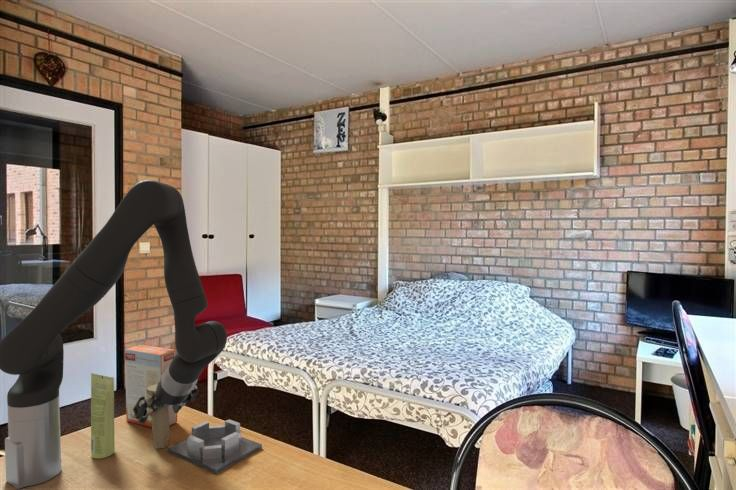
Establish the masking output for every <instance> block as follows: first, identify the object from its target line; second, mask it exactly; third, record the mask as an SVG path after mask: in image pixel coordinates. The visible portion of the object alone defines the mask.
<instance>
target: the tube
mask: <svg viewBox="0 0 736 490" xmlns="http://www.w3.org/2000/svg"><path fill="white" fill-rule="evenodd" d="M114 378H115V377H113V376H107V375H103V374H102V375H101V374H98V373H94V372H93V373H92V372H91V373H90V386H91V387H90V413H91V414H90V455H91V457H92V458H93V459H104V458H108V457H110V456H111V455H113V454H114V453H115V447H116V446H115V445H116V444H115V379H114Z"/></svg>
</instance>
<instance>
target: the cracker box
mask: <svg viewBox="0 0 736 490" xmlns="http://www.w3.org/2000/svg"><path fill="white" fill-rule="evenodd" d="M176 354H177V350H176V349H174V348H173V349H171V348H165V347H158V346H153V345H147V344H139V345H136V346H131V347H128V348H125V350H124V359H125V360H124V361H125V363H124V364H125V367H124V368H125V411H126V412H125V413H126V414H125V415H126V416H125V417H126V419H125V420H126V422H130V423H133V424H138V425H141V426H146V427H149V428H152V419H153V413H152V414H150V415H149V416H148V418H147V420H146V422H145V423H143V424H141V422H140V423H139V420H138V419H136V416H135V413H134V411H133V408H134V407H135V405H136V403H137V402H138V400H139V398H141V397H145V399H149V398H151V396H149V395H148V394H147V388H148V387H149V386H152V385H155V384H158V383H159V381H160V380H161V378H162V376H163V374H164V372H165V371H166V369H167V367H168V366H169V365H170V364H171V362H172V360H173V358H174V357H175V355H176ZM172 406H173V405H169V406H168V412H169V427H170V426H172V425H174V424H176V423H178V413H174V411H173V408H172ZM148 411H149V407H148V409H147V412H148Z"/></svg>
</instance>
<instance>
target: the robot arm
mask: <svg viewBox="0 0 736 490" xmlns="http://www.w3.org/2000/svg"><path fill="white" fill-rule="evenodd" d="M182 196H183V195H182V194H181V192H180V191H179V190H178V189H177V188H175V187H174V186H172V185H170V184H168V183H164V182H161V181H157V180H154V179H153V180H152V179H146V180H141V181H139V182H136V184H134V185H133V186H132V187H130V189H129V190H128V191H127V193H126V194H124V197H123V198H122V199H121V201H120V203H119V204H118V205H117V207H116V209H115V210H114V211H113V212H112V215H111V216H110V218H109V219H108V220H107V222H106V223H105V225H103V226H102V228H101V229H100V230H99V231H98V233H97V234H96V235H95V236H94V237H93V238H92V240H90V242H89V243H88V244H87V245H86V247H85V248H84V249H83V250H82V251H81V253H79V255H77V256H76V257H75V259H74V260H73V261H72V262H71V263H70V264H69V266H68V267H67V268H66V269H65V270H64V272H63V273H62V274H61V275H60V277H59V278H58V279H57V280H56V281H55V283H54V284H53V285H52V286H51V288H50V289H49V290H48V291H47V292H46V293H45V295H44V296H43V297H42V299H41V300H40V301H39V302H38V304H37V305H36V306H35V307H34V308H33V309H32V310H31V311H30V312H29V313H28V314H27V316H26V317H24V318H23V319H22V320H21V321H20V322H18V324H17V325H16V326H15V327H14V328H12V329H11V330H10V331H9V332H8V333H7V334H6V335H5V336H4V337H3V338H2V339H1V340H0V370H1V372H4V373H6V374H7V375H8V374H9V375H13V376H14V375H15V376H17V375H18V378H17V379H16V381H15V382H14V384H13V385H12V386H10V388H9V390H8V391H7V394H6V395H7V396H6V401H7V402H6V403H7V429H8V430H7V433H8V434H7V435H8V437H5V438H4V456H5V457H4V458H5V481H6V482H8V484H10V485H12V487H14V488H15V487H16V488H15V489H17V490H20V489H22V488H26V487H30V486H36V485H39V484H42V483H45V482H47V481H49V480H52V479H53V478H55V477H56V476H57V475H59V474H60V473H61V471H62V445H61V441H62V438H61V415H60V414H61V413H60V410H61V409H60V388H61V385H62V382H63V378H64V357H65V355H64V353H65V352H64V342H63V337H62V335H61V333H62V332H63V331H64V330H65V329H66V328H67V327H68V326H69V325H71V324H72V323H74V322H75V321H76V320H77V319H79V318H81V316H83V315H84V314H86V312H88V311H89V310H90V309H92V308H93V307H94V306H96V305H97V304H98V303H99V302H100V301H101V300H102V299H103V298H104V297H106V295H107V294H108V293H109V291H110V290H111V289H112V288H113V287H114V286H115V284H116V283H117V282H118V280H119V279H120V278H121V277H122V274H123V272H124V271H125V268H126V264H127V262H128V259H129V256H130V255H129V254H130V253H131V251H132V249H133V247H134V246H135V244H136V243H137V242H138V241H139V240H140V239H141V238H142V237H143V236H144V234H145V233H146V232H147V231H148V230H149V229H150V228H151V227H153V226H154V227H155V229H156V231H157V234H158V236H159V239H160V241H161V242H160V243H161V247H162V253H163V275H164V283H165V289H166V291H167V294H168V298H169V302H170V303H171V307H172V311H173V315H174V316H173V318H174V342H175V350H176V355H175V357H174V358H173V360H172V362H171V364H170V365H169V366H168V367H167V369H166V371H165V372H164V374H163V376H162V378H161V380H160V381H159V383H158V385H157V388H156V393H155V394H154V395H153V396H152V397H151V398H149V399H145V397H141V398H139V400H138V402H137V403H136V405H135V407H134V408H133V411H134V413H135V416H136V419H138V420H139V423H140V422H141V424H143V423H145V422H146V420H147V418H148V416H149V415H150V414H152V413H157V412H158V411H159V410H161V409H162V408H165V407H167V406H169V405H173V406H172V408H173V411H174V413H177V414H178V413H179V411H180V410H182V408H183V407H184V406H186V405H187V403H188V404H191V403H193V402H194V400H195V398H196V397H197V395H198V394H199V389H198V386H197V383H198V380H199V377H201V374H202V373H203V371H204V369H205V368H206V367H207V366H208V365H210V364H211V363H212V362H213V361H214V360H215V359H216V358H217V357H218V356H220V354H221V353H222V352H223V351H224V349H225V347H226V345H227V341H228V332H227V330H226V328H225V326H224V325H223V323H220V322H219V321H216V320H211V321H207V322H203V323H201V324H198V325H195V323H196V322H195V321H196V317H197V316H198V315H199V314H202V312H204V311H205V310H206V309H207V308H208V299H207V296H206V293H205V290H204V287H203V284H202V281H201V278H200V275H199V271H198V269H197V266H196V265H197V264H196V262H195V258H194V253H193V249H192V245H191V244H192V243H191V241H190V240H191V239H190V234H189V228H188V223H187V222H188V221H187V215H186V207H185V203H184V198H183V197H182ZM154 405H155V406H157V408H155V406H154ZM148 407H149V411H148V412H147V409H148ZM141 424H140V425H141ZM19 488H20V489H19Z"/></svg>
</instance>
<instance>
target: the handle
mask: <svg viewBox="0 0 736 490" xmlns="http://www.w3.org/2000/svg"><path fill="white" fill-rule="evenodd" d="M157 385H158V384H155V385H152V386H149V387H148V388H147V394H148V395H149V396H151V397H152V396H153V395H154V394H155V393H156V388H157ZM154 406H155V405H154ZM155 408H157V406H155ZM151 429H152V439H153V446H154V447H155V449H157V450H158V449H164V448H165V447H168V445H169V441H170V440H169V438H170V426H169V412H168V406H167V407H165V408H162V409H161V410H159V411H158V412H157V413H153V419H152V427H151Z"/></svg>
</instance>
